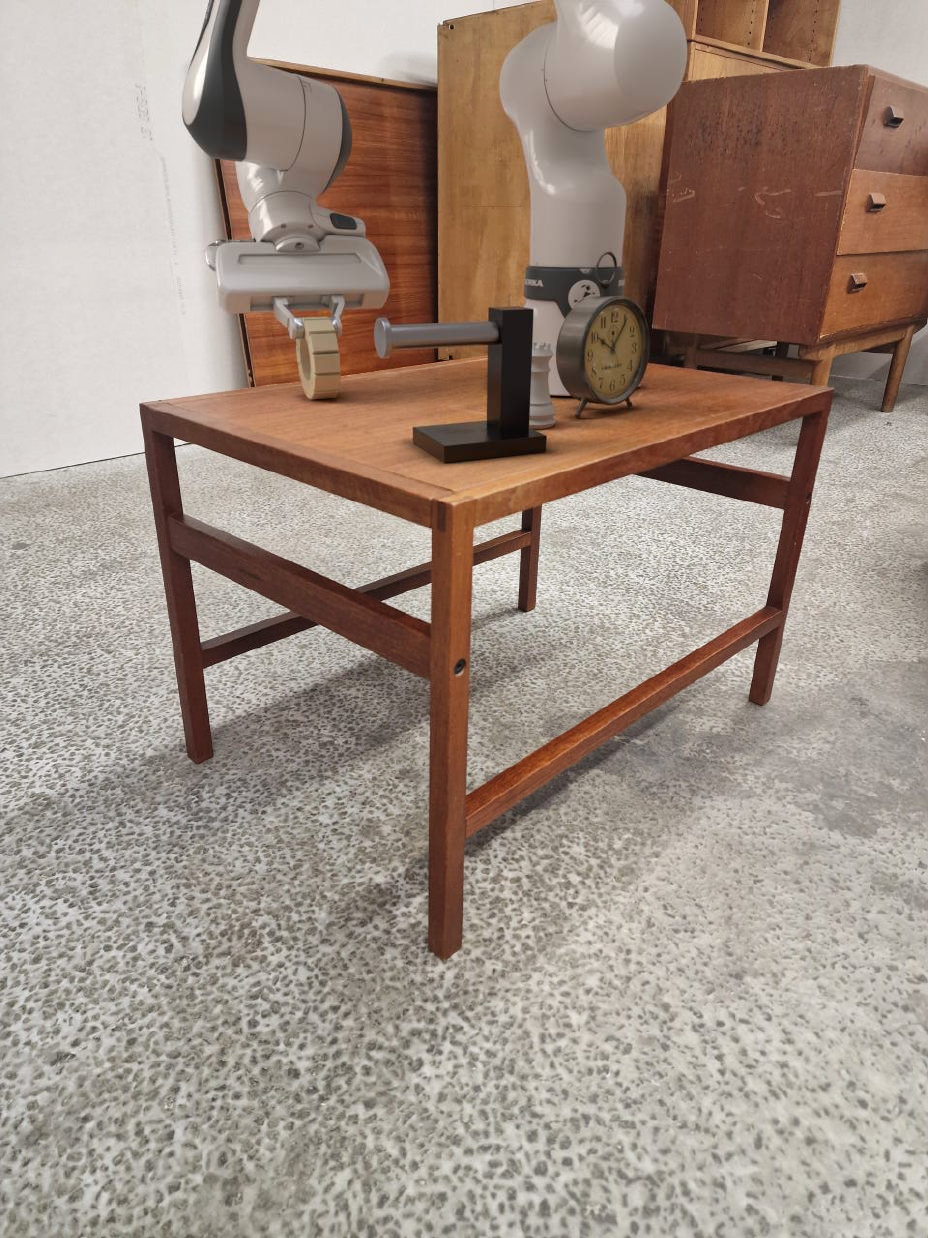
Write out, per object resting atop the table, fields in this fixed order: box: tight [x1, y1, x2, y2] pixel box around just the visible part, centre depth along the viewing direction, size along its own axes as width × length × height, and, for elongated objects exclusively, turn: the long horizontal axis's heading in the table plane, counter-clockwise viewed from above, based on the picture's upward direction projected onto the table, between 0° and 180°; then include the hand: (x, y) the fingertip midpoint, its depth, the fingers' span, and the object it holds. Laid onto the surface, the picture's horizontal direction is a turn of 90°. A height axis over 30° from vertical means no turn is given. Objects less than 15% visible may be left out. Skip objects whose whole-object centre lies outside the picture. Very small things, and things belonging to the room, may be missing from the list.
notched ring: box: [295, 316, 342, 401], centre depth 94 cm, size 9×3×9 cm, turn 23°
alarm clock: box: [556, 251, 651, 419], centre depth 85 cm, size 11×5×16 cm, turn 129°
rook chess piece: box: [529, 342, 557, 430], centre depth 81 cm, size 4×4×8 cm
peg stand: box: [373, 305, 548, 464], centre depth 71 cm, size 14×8×12 cm, turn 113°
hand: (317, 334), depth 92 cm, fingers closed on notched ring, 3 cm apart
